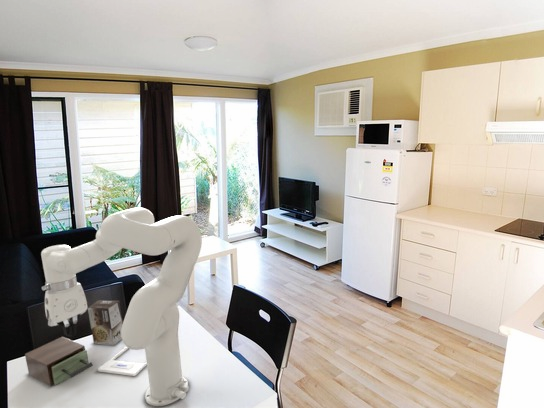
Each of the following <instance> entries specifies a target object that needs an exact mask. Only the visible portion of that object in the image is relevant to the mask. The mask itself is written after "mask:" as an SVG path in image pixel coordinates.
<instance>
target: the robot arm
mask: <svg viewBox="0 0 544 408" xmlns="http://www.w3.org/2000/svg"><path fill="white" fill-rule="evenodd" d="M202 243H203V237H202V233H201V230H200V227H199V225H198V224H197V223H196V222H195V221H194V219H193V218H191V217H189V216H187V215H181V214H180V215H174V216H170V217H167V218H164V219H161V220H159V221H156V222H155V216H154V214H153V213H152V212H151V211H150V210H149V209H147V208H144V207H132V208H128V209H125V210H122V211H118V212H115V213H111V214H110V215H108V216H106V217H105V218H104V219H103V220H102V221H101V224H100V227H99V228H98V229H97V231H96V233H95V239H93V240H91V241H89V242H87V243H84V244H80V245H78V246H74V247H72V248H71V246H69V245H67V244H56V245H51V246H48V247H46V248H43V249H42V250H41V252H40V256H41V261H42V262H41V263H42V269H43V273H44V278H45V282H44V285H43V286H41V290H42V291H43V292H44V291H45V293H44V311H45V317H46V319H47V326H48V327H56V326H61V327H62V330H63V335H65V336H67V337H69V338H72V337H74V336H76V335H77V331H78V330H77V322H78V319H79V318H80V316H82V315H83V314H84V313H86V312H87V311H88V301H87V298H86V293H85V292H84V288H83V286H82V284H81V283H80V282H78V281H77V275H76V274H78V273H80V272H83V271H85V270H87V269H89V268H91V267H94V266H96V265H98V264H101V263H103V262H105V261H106V260H108V259H110V258H112V257H113V256H114V255H116V254H118V253H119V252H121V250H122V249H125V250H129V251H132V252H136V253H139V254H142V255H147V256H159V255H162V254H165V253H167V252H168V253H167V254H166V256H165V258H164V260H163V262H162V265H161V268H160V270H159V273H158V275H157V276H156V277H155V278H154V279H153V280H151V281H150V282H148V283H147V284H145V285H144V286H142V287H141V288H139V289H138V290H137V291H136V292H135V294H133V296H132V297H131V300H130V302H129V303H128V304H129V305H128V307H127V311H126V313H125V315H124V319H123V320H122V323H123V324H122V328H121V337H122V339H121V341H122V342H123V344H124V345H125V347H126V346H127V347H128V349H130V350H133V351H139V350H143V349H144V352H145V362H146V361H147V365H146V368H147V369H146V370H147V375H148V384H149V387H148V388H147V390H146V391H145V394H144V398H145V403H147V404H148V405H150V406H153V407H163V406H168V405H170V404H173V403H175V402H177V401H178V400H179V399H181V400H184V399H186V397H187V392H189V390H190V386H189V381H188V379H187V377H184V376H183V372H182V362H181V351H180V341H179V324H180V309H179V307H178V305H177V304H178V303H179V302H180V301H181V300H182V298H183V297H184V295H185V292H186V289H187V287H188V284H189V281H190V279H191V277H192V273H193V271H194V269H195V266H196V264H197V261H198V259H199V256H200V253H201V249H202Z"/></svg>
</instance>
